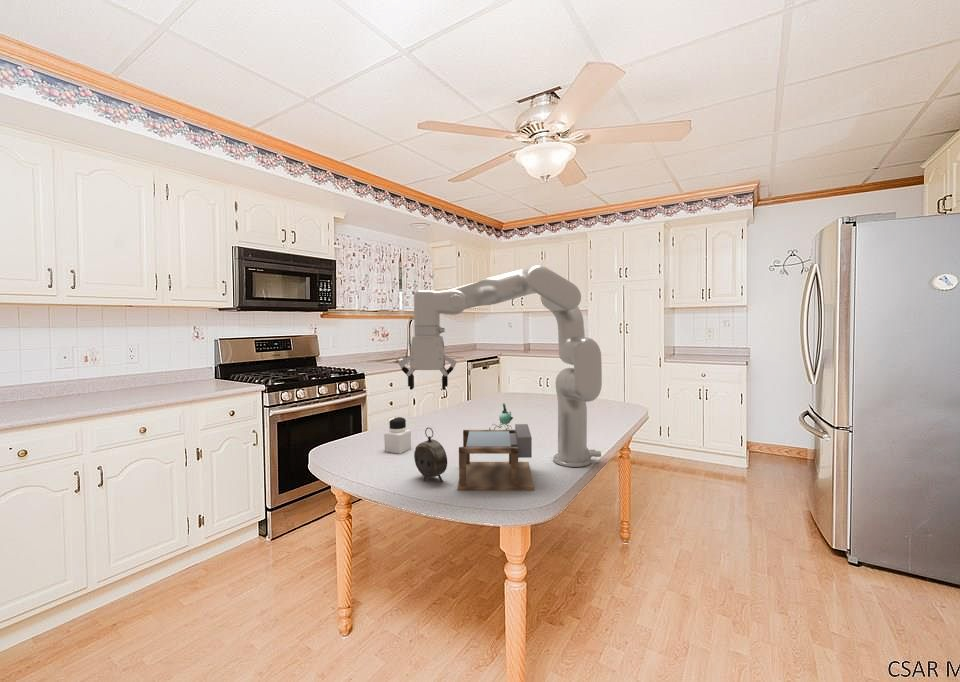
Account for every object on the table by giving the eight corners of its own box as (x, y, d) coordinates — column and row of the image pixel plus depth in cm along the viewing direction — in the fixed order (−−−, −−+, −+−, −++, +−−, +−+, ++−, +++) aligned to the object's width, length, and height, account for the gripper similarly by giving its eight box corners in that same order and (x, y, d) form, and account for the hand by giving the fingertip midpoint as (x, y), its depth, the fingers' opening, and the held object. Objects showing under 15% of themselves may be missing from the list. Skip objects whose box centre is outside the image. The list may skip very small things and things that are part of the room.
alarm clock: (448, 481, 134) (447, 428, 133) (435, 487, 130) (434, 432, 129) (424, 473, 142) (423, 422, 140) (411, 478, 138) (410, 426, 136)
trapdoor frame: (528, 464, 148) (528, 429, 147) (534, 490, 127) (534, 449, 126) (462, 464, 149) (462, 429, 148) (457, 490, 128) (456, 449, 127)
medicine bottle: (411, 448, 167) (410, 417, 166) (400, 454, 160) (399, 421, 159) (395, 446, 170) (395, 415, 169) (384, 451, 163) (383, 419, 162)
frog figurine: (478, 435, 184) (482, 399, 183) (520, 437, 187) (523, 402, 187) (483, 441, 174) (486, 404, 174) (527, 443, 178) (530, 407, 177)
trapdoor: (527, 441, 145) (527, 423, 145) (531, 458, 129) (531, 437, 129) (469, 441, 146) (469, 423, 145) (466, 458, 130) (466, 437, 129)
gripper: (457, 331, 136) (457, 386, 137) (400, 331, 136) (401, 386, 138) (455, 332, 128) (455, 391, 130) (395, 332, 129) (396, 391, 130)
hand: (427, 388), depth 134 cm, fingers open, 9 cm apart
